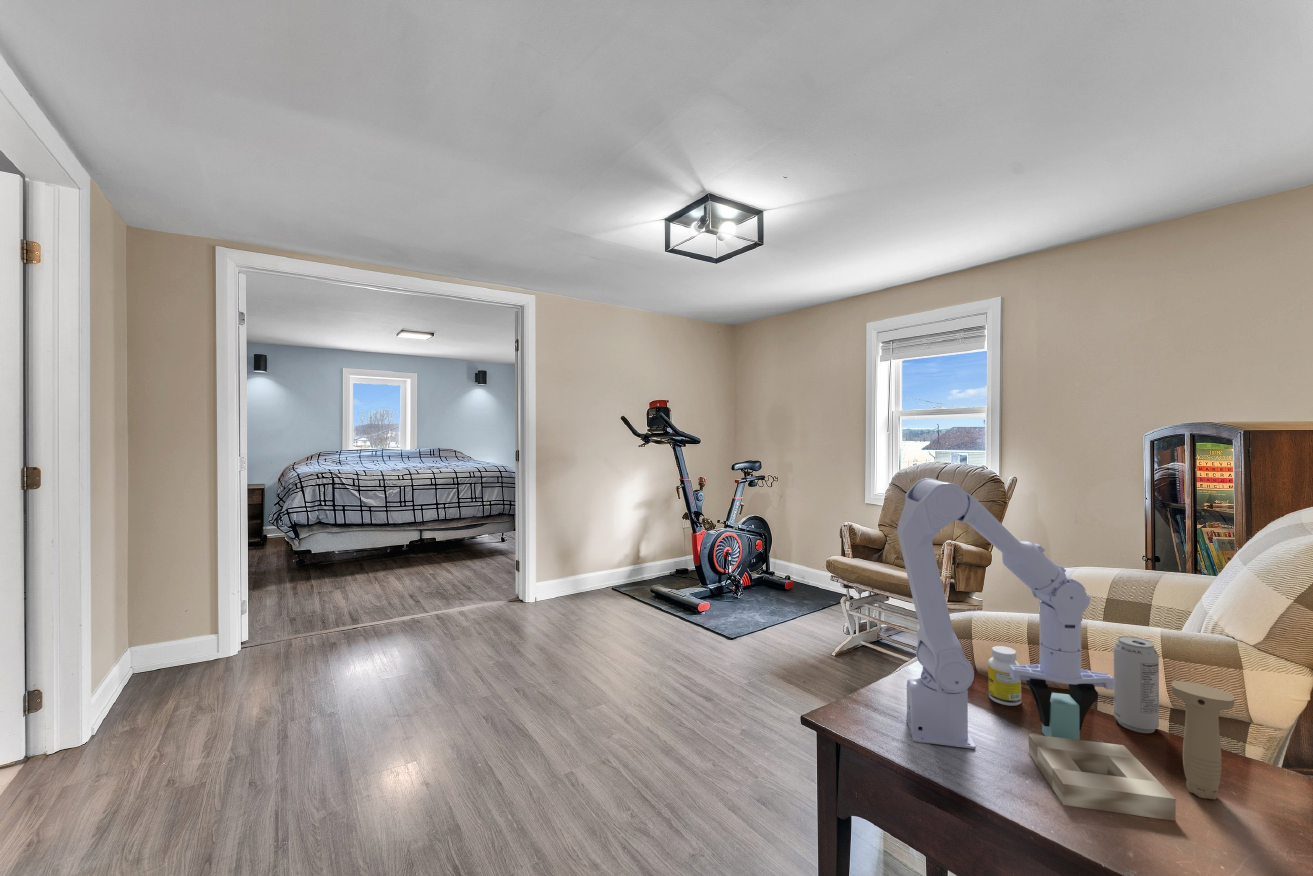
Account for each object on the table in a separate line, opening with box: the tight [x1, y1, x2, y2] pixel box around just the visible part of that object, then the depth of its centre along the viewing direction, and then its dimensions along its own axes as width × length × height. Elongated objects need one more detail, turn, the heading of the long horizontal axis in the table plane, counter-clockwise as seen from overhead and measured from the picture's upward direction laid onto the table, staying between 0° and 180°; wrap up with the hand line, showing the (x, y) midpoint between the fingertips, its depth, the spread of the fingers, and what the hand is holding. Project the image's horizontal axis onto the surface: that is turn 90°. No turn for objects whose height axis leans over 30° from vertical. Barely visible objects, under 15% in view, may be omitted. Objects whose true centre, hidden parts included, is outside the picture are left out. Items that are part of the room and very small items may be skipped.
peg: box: [1041, 692, 1080, 740], centre depth 94 cm, size 4×4×7 cm
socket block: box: [1028, 733, 1177, 822], centre depth 83 cm, size 13×13×3 cm
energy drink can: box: [1113, 635, 1160, 734], centre depth 98 cm, size 6×6×15 cm
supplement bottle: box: [987, 645, 1022, 707], centre depth 108 cm, size 5×5×10 cm
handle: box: [1171, 680, 1235, 801], centre depth 80 cm, size 5×6×15 cm
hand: (1060, 725), depth 94 cm, fingers closed on peg, 4 cm apart
